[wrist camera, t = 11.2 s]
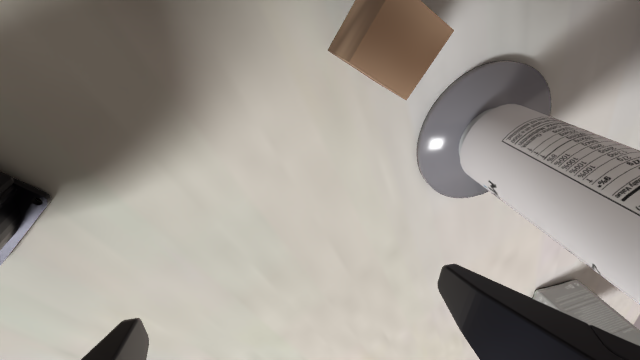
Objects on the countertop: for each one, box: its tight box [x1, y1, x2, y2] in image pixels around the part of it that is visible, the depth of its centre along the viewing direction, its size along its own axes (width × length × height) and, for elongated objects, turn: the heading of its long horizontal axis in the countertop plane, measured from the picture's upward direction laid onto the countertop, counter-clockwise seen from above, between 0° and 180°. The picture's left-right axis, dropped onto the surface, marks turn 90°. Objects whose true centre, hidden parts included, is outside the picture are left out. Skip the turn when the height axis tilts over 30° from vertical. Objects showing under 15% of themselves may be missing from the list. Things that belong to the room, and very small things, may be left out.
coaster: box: [417, 61, 551, 198], centre depth 24 cm, size 11×11×1 cm
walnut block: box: [328, 0, 454, 100], centre depth 17 cm, size 4×4×4 cm
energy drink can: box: [459, 104, 640, 305], centre depth 18 cm, size 6×6×15 cm
